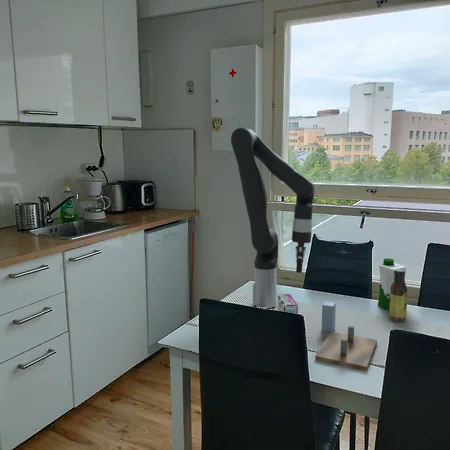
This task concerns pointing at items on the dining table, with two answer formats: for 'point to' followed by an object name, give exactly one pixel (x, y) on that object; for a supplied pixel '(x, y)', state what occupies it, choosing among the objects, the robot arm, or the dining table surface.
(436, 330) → the dining table surface
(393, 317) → the sauce bottle
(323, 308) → the block
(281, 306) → the candy bar box
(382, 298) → the milk carton
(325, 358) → the wooden peg board
